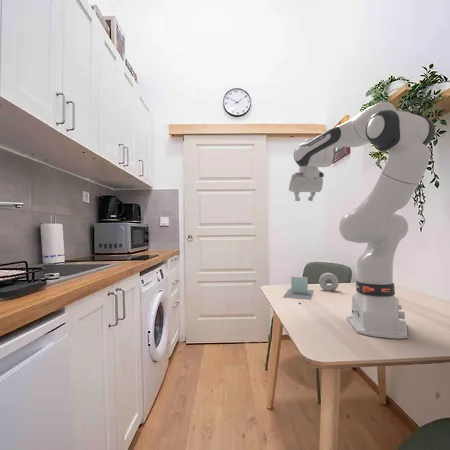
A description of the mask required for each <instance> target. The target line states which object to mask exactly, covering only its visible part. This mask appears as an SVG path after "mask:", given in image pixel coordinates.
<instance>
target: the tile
mask: <svg viewBox="0 0 450 450" xmlns="http://www.w3.org/2000/svg"><path fill="white" fill-rule="evenodd" d="M308 281H309V280H308V277H305V276H290V284H291V285H290V287H291V288H290V289H291V293H305V294H308V290H309V287H308V286H309V285H308V283H309V282H308Z"/></svg>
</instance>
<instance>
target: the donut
mask: <svg viewBox="0 0 450 450" xmlns="http://www.w3.org/2000/svg"><path fill="white" fill-rule="evenodd" d="M327 280H330V281H331V284H328V283H327ZM318 284H319V286H320V288H321V289H322V290H323V291H327V292H333V291H336V290H337V288H338V287H339V284H340V283H339V279H338V276H336V275H335V274H334V273H332V272H324V273H322V274H321V275H320V277H319V280H318Z"/></svg>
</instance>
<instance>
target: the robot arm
mask: <svg viewBox="0 0 450 450" xmlns="http://www.w3.org/2000/svg"><path fill="white" fill-rule="evenodd" d="M435 134H436V125H435V123H434V122H433V120H431V119H430V118H429V117H426V116H424V115H418V114H414V113H411V112H408V111H401V110H397V109H396V107H395V106H394V104H393V103H391V102H389V101H380V102H379V101H378V102H376V103H375V104H373V105H371V106H368V107H367V108H365V109H364V110H362V111H361V112H359V113H358V114H356V115H355V116H353V117H352V118H351V119H348V120H347V121H345V122H344V123H341V124H339V125H337V126H333V128H330V129H327V130H326V131H324V132H322V133H321V134H319V135H317V136H316V137H309V138H307V139H305V140H304V142H302V143H300V144H299V145H297V147H296V148H295V150H294V152H293V159H294V161H295V163H296V164H297V165H298V167H299V168H298V172H293V173H292V174H291V179H290V181H289V184H288V186H289V187H288V191H289V192H293V194H294V197H295V198H294V201H295V202H300V201H301V197H300V196H299V195H300V193H310V195H309V196H308V199H307V200H308V201H309V202H313V200H314V197H315V196H316V193H321V192H322V189H323V184H324V179H323V178H324V177H325V173H324V172H322V171H321V170H319V168H327V167H330V166H331V165H332V164H333V163H334V162H335V158H336V153H335V149H334V148H359V147H362V146H365V145H367V144H369V143H371V144H372V145H374V146H375V147H376V148H377V149H378V150H379V151H380V152H386V151H387V152H388V158H387V161H386V162H385V165H384V167H383V169H382V171H381V173H380V175H379V178H378V179H377V181H376V183H375V184H374V187H373V189H372V190H371V192H370V193H369V194H368V196H367V197H366V198H365V199H364V200H363V201H362V203H360V204H359V205H358V206H357V207H356V208H355V209H354V210H352V211H350V212H349V213H347V214H345V215H343V216H342V218H341V219H340V221H339V226H338V227H339V232H340V235H341V236H342V238H343V239H344V240H345V241H348V242H352V243H357V244H367V245H366V248H365V250H364V252H363V253H362V254H361V255H360V256H359V257H358V258H357V261H356V265H357V266H356V271H357V272H356V273H357V274H356V275H357V280H356V281H355V283H356V284H355V291H356V293H355V294H353V295H352V296H351V315H346V320H347V322H348V323H349V325H351V327H352V328H353V329H354V330H355V332H356V333H357V334H361V335H365V336H370V337H377V338H386V339H397V340H398V339H399V340H400V339H408V337H409V336H408V323H407V321H404V320H405V319H406V314H405V311H402V310H403V309H402V308H403V307H402V304H401V305H399V304H400V303H399V299H398V298H397V297H396V296H395V294H396V292H395V291H396V287H395V283H394V281H393V279H394V277H393V275H394V272H393V269H394V267H393V266H394V259H395V258H394V257H395V254H396V250H397V249H398V246H399V244H400V242H401V241H402V240H403V239H404V238H405V237H406V235H407V234H408V231H409V223H408V221H407V219H406V218H405V217H404V216H402V215H400V214H398V213H396V212H398V211H399V210H401V209H402V208H405V206H407V205H408V203H409V201H410V200H411V198H412V196H413V194H414V193H415V191H416V189H417V187H418V186H419V184H420V183H421V180H422V179H423V177H424V175H425V172H426V171H427V168H428V165H429V163H430V160H431V156H432V153H431V149H430V148H429V147H428V145H429V144H430V143H431V142H432V140H433V138H435Z"/></svg>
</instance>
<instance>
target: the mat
mask: <svg viewBox="0 0 450 450" xmlns="http://www.w3.org/2000/svg"><path fill="white" fill-rule="evenodd" d="M314 291H315V290H314V289H308V294H305V293H291V288H288V289H287V291H286V292H285V293H284V295H283V296H282V298H283V299H295V300H296V299H297V300H309V301H311V300H312V298H313V294H314Z"/></svg>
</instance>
